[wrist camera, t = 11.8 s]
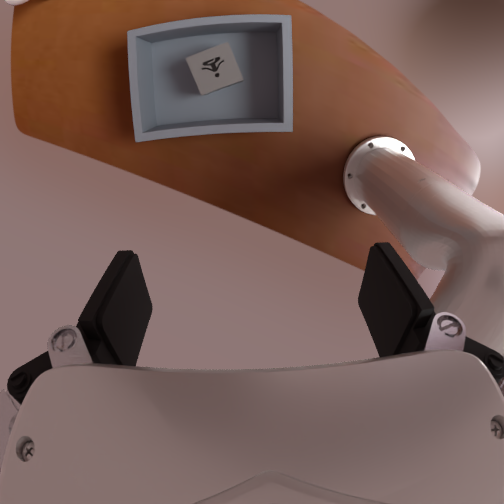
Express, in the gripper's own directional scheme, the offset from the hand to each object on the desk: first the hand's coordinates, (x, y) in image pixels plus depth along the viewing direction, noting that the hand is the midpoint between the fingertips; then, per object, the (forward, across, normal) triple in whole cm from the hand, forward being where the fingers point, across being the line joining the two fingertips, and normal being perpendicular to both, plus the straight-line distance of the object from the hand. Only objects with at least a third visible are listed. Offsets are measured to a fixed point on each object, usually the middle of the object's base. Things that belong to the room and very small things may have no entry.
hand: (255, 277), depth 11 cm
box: (+30, +4, -9) cm, 32 cm away
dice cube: (+30, +4, -10) cm, 31 cm away
